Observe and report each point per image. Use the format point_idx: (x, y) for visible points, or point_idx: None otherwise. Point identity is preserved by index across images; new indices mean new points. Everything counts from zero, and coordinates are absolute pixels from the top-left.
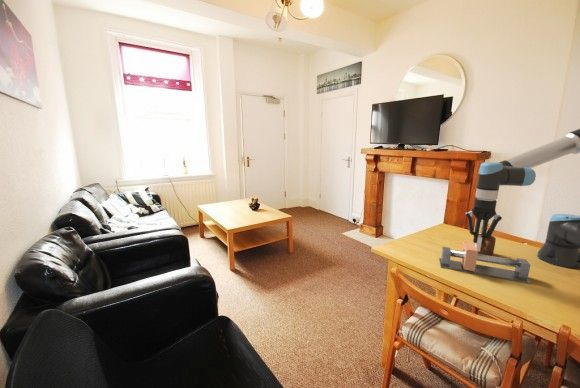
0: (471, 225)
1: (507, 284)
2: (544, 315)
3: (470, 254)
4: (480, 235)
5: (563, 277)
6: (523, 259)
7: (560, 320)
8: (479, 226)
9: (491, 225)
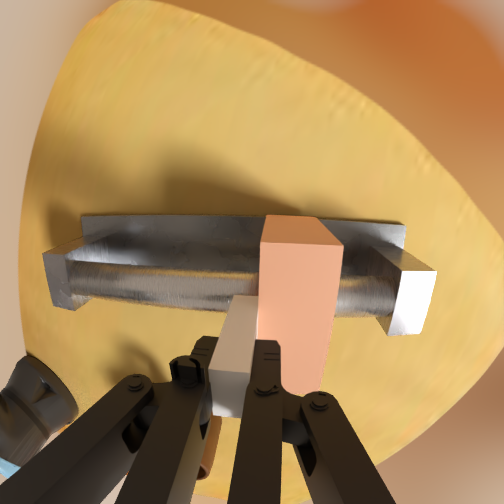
0: (357, 496)
1: (151, 166)
2: (122, 21)
3: (307, 235)
4: (198, 474)
5: (30, 301)
6: (59, 303)
7: (98, 25)
8: (235, 499)
9: (83, 487)
